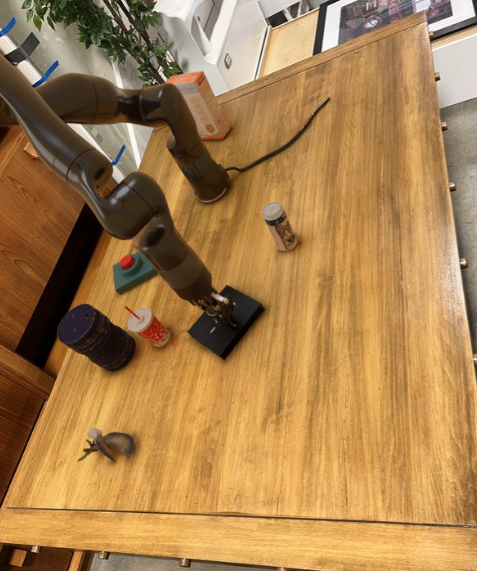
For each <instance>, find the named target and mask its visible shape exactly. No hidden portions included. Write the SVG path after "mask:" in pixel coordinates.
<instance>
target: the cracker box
mask: <svg viewBox="0 0 477 571" xmlns="http://www.w3.org/2000/svg"><path fill="white" fill-rule="evenodd" d="M165 83H172V84H174V85H175V86H177V87H178V89H179V90H180V91H181V93H182V94H183V96H184V98H185V100H186V102H187V104H188V107H189V109H190V111H191V113H192V115H193V117H194V119H195V122H196V125H197V129H198V132H199V134H200V136H201V138H202V140H203V141H209V140H211V141H212V140H215V141H216V140H224V138H225V137H226V135H227V134H228V133H229V131H230V130H231V127H230V125H229V122H228V120H227V118H226V116H225V114H224V112H223V110H222V108H221V106H220V103H219V102H218V99H217V98H216V95H215V93H214V90H213V89H212V87H211V84H210V81H209V80H208V78H207V76H206V74H205V72H204V70H199V71H193V72H186V73H182V74H174V75H171V76H170V77H169V78H168V79H167V81H166V82H165Z"/></svg>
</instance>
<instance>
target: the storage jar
mask: <svg viewBox="0 0 477 571" xmlns="http://www.w3.org/2000/svg"><path fill="white" fill-rule="evenodd" d="M56 337H57V339H58V341H59V342H60V343H61V344H63V345H64V346H67V348H69V349H71V350H72V351H73V352H75V353H77V354H79V355H83V356H85V357H86V358H88V360H90V361H91V362H92V363H93V364H95V365H96V366H97V367H100V368H102V369H103V370H104V371H107V372H110V373H115V372H120V371H121V370H123V369H124V368H125V367H127V366H128V365H129V364H130V363H131V361H132V360H133V358H134V357H135V354H136V350H137V342H136V340H135V338H134V337H133V336H131V335H130V334H129V333H128V332H127V331H126V330H125V329H123V328H122V327H121V326H119V325H117V324H114V323H113V322H112V321H111V320H110V318H109V317H108V316H107V315H105V314H104V313H103V312H102V311H101V310H98V309H97V308H96V307H94V306H93V305H92V304H90V303H81V304H78V305H76V306H74V307H73V308H71V309H70V310H69V311H68V312H66V314H65V315H64V316H63V318H62V319H61V321H60V322H59V324H58V327H57V332H56Z"/></svg>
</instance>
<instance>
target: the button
mask: <svg viewBox="0 0 477 571" xmlns="http://www.w3.org/2000/svg"><path fill="white" fill-rule="evenodd" d="M119 262H120V265H121V266H122V267H123V268H124V269H129V268H131V267H132V266H133V265H134V262H135V261H134V259H133V258H132V257H131V256H130V254H126V255H124V256H123V257H121V259H120V260H119Z"/></svg>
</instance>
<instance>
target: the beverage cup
mask: <svg viewBox="0 0 477 571" xmlns="http://www.w3.org/2000/svg"><path fill="white" fill-rule="evenodd" d="M124 309H125V310H127V311H128V312H129V313H130V316H129V318H128V320H127V328H128V329H129V330H130V332H132V333H134V334H137V335H138V336H140V337H141V338H143V339H144V340H146V342H149V343H150V344H152V345H153V346H154V347H157V348H160V347H163V346H165V345H166V344H168V342H169V340H170V337H171V332H170V331H169V330H168V328H167V327H165V325H164V324H163V323H162V322H161V321H160V320H159V319H158V318H157V316H156V315H154V312H153V311H152V310H151V309H150V308H149V307H146V306H143V307H139V308H137V309H135V310H134V311H133V310H131V309H130V307H128V306H127V305H125V306H124Z"/></svg>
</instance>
